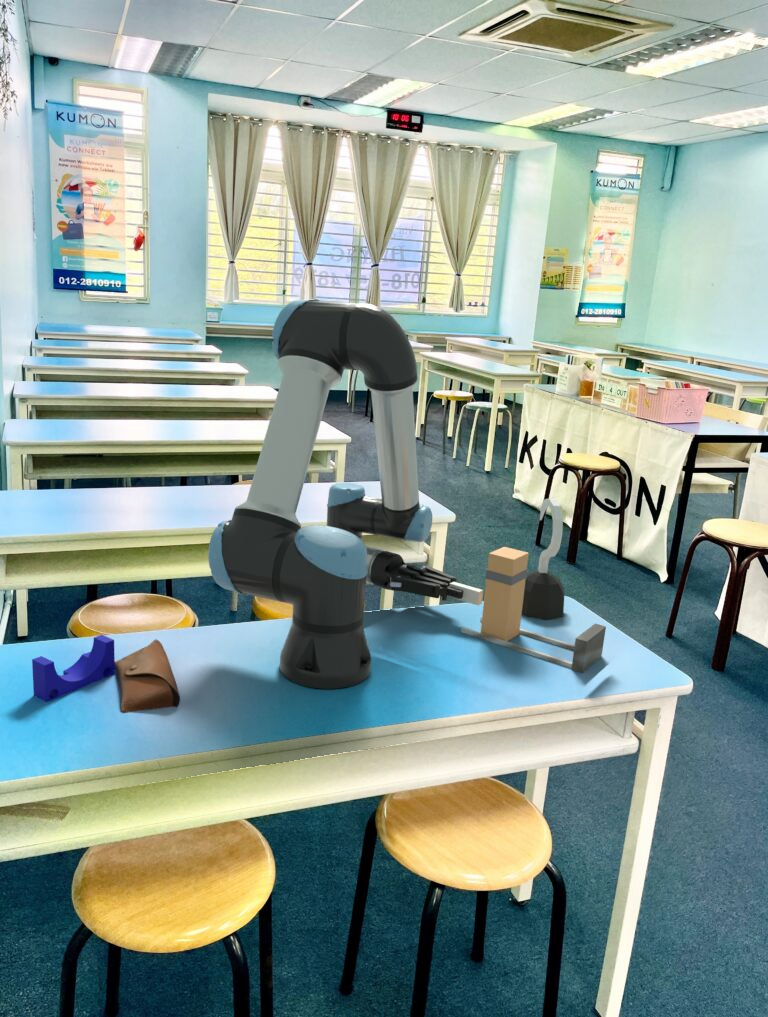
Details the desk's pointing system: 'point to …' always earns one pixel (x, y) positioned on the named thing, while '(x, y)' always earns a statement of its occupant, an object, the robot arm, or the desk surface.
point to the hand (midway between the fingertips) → (480, 597)
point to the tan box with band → (504, 593)
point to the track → (584, 648)
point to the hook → (546, 575)
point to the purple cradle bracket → (74, 671)
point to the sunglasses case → (147, 680)
